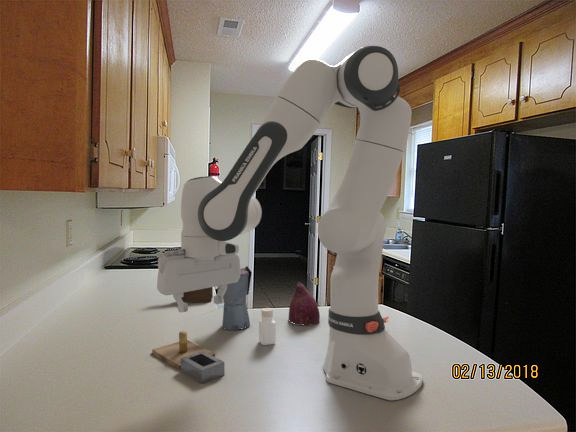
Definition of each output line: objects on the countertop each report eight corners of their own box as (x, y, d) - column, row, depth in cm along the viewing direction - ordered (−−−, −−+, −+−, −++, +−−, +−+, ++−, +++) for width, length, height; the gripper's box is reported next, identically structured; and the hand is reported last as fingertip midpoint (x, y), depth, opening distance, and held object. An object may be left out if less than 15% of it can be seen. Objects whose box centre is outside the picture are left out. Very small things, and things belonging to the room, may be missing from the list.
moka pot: (208, 330, 117) (208, 265, 116) (238, 316, 130) (237, 259, 130) (234, 335, 112) (233, 268, 112) (261, 321, 126) (261, 261, 125)
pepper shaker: (271, 339, 109) (271, 306, 109) (276, 344, 105) (276, 310, 105) (258, 341, 108) (258, 308, 107) (262, 346, 104) (262, 312, 104)
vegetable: (303, 337, 120) (298, 295, 116) (283, 324, 128) (277, 284, 124) (327, 322, 126) (323, 282, 122) (306, 311, 134) (302, 273, 130)
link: (224, 374, 87) (224, 361, 87) (201, 383, 83) (201, 370, 83) (202, 362, 93) (202, 350, 93) (180, 370, 89) (180, 358, 89)
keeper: (215, 357, 97) (215, 334, 96) (179, 370, 90) (179, 344, 89) (186, 343, 106) (186, 321, 106) (152, 353, 99) (151, 330, 99)
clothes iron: (173, 298, 155) (172, 266, 154) (212, 296, 158) (212, 264, 157) (171, 304, 147) (170, 269, 146) (213, 301, 150) (212, 268, 150)
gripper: (165, 253, 77) (165, 320, 78) (244, 245, 92) (244, 301, 93) (151, 250, 82) (151, 313, 83) (228, 243, 96) (228, 297, 97)
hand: (201, 307), depth 88 cm, fingers open, 8 cm apart
